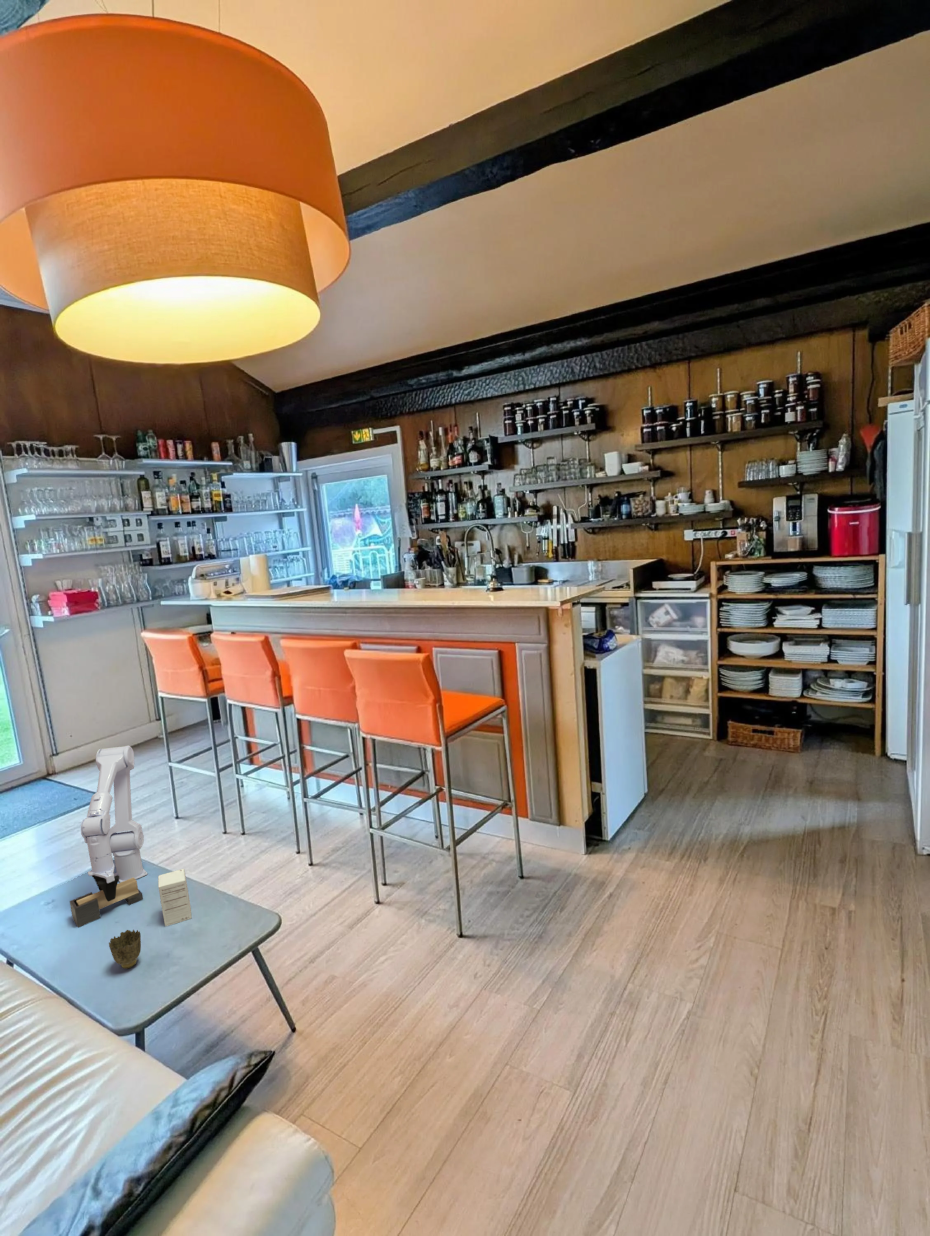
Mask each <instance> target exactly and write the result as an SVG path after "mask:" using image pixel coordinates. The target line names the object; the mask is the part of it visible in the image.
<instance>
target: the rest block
mask: <svg viewBox="0 0 930 1236" xmlns="http://www.w3.org/2000/svg"><path fill="white" fill-rule="evenodd" d="M138 892H139V893H136V894H134V895H132V896H129V897H127V898H125V899H124V901H125V902H126V903H127V904H128V905H129V906H130V905H134V904H136V903H138V902H141V901H143V900H144V894H143V892H141V890H140V889H139V888H138Z"/></svg>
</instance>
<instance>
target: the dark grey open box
mask: <svg viewBox="0 0 930 1236" xmlns="http://www.w3.org/2000/svg"><path fill="white" fill-rule="evenodd" d="M92 894H94V893H93V891H91V892H88V893H86V894H84V895H82V896H81V895H80V896H79V897H75V898H74V899H71V900H69V906H70V911H71V917H72V920H73V922H74V923H75V925H76V927H77V928H81V927H84V926H85V925H88V924H90V923H92V922H94V921H97V920H99V919H101V910H100V909H99V905H98V900H97V899H94V900H92V901H90V902H87V903H85V904H82V905H80V906H78V907H77V903H76V901H77V900H80V899H82V898H84V897H87V896H89V895H92Z"/></svg>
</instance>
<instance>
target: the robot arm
mask: <svg viewBox="0 0 930 1236" xmlns="http://www.w3.org/2000/svg"><path fill="white" fill-rule="evenodd" d="M95 763H96V766H97V767H96V768H97V769H98V771H99V773H98V779H97V780H98V781H97V786H96V787H97V789H96V792H95V793H94V794H93V795H91V798H90V802H89V807H88V811H87V814H86V817H85V818H84V819H82V821H81V824H80V834H81V837H82V838H83V840H84V843H85V844H87V850H88V855H89V862H90V866H91V870H89V871H87V875H88V877H92V878H93V879H94V882H95V883H96V885H97V888H98V890H99V891H101V890H103V892H104V895H105V897H106V900H107V901H108V902H109V901H111V900H113V899H115V897H116V887H117V884H119V883H121V882H123V881H126V880H128V879H131V878H133V877H134V878H135V880H136V881H137V879H138V880H139V879H140V878H143V877H146V876H147V875H148V872H147V871H146V870H145V869H144V868H143V867H144V866H143V863H142V856H141V851H140V850H141V849H142V847H143V846H144V840H145V838H144V837H145V835H144V832H143V826H142V825H141V824H140V823H138V822H137V821H134V820H133V812H132V811H133V810H132V796H131V795H132V793H131V790H132V789H131V770H134V769H135V752H134V749H133V748H132V746H130V745H124V746H116V747H115V746H114V747H107V748H103V747H102V748H99V749H98V750H97V752H96V754H95ZM112 787H113V796H112V795H111V794H110V793H111V790H112ZM113 797H114V800H113ZM113 801H114V802H113ZM112 802H113V803H114V819H115V821H114V822H115V824H114V825H113V826H111V815H110V811H111V808H112V807H111V806H112ZM115 871H116V872H115Z"/></svg>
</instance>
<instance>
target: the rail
mask: <svg viewBox="0 0 930 1236" xmlns="http://www.w3.org/2000/svg"><path fill="white" fill-rule="evenodd" d="M138 889H139V887H138V881H137V879H136V880H135V878H134V877H133V878H131V879H128V880H126V881H123V882H121V883H120V882H118V883H117V887H116V897H115V899H113V900H111V901H109V902H108V901H107V900H106V897H105V895H104V892H103V890H101V891H100V890H99V891H97V892H95V893H93V894H92V895H89V896H87V897H84V898H82V899H80V900H77V901H76V903H77V907H78V906H80V905H82V904H85V903H87V902H90V901H92V900H94V899H97V900H98V905H99V910H102V909H103V908H106V907H108V906H111V905H113V904H114V903H115V904H116V903H117V902H119V901H122V900H125V898H127V897H129V896H132V895H134V894H136V893H139V892H138Z"/></svg>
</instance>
